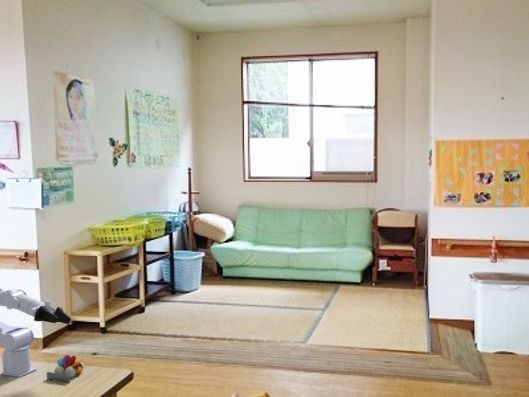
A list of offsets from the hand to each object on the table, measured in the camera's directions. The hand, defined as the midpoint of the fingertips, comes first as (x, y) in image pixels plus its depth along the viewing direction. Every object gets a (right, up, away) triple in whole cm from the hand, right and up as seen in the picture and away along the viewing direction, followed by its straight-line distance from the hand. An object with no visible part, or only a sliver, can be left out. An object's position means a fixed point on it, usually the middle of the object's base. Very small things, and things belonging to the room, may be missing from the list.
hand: (63, 320), depth 200 cm
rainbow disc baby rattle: (0, -21, +6) cm, 22 cm away
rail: (-2, -21, 0) cm, 21 cm away
